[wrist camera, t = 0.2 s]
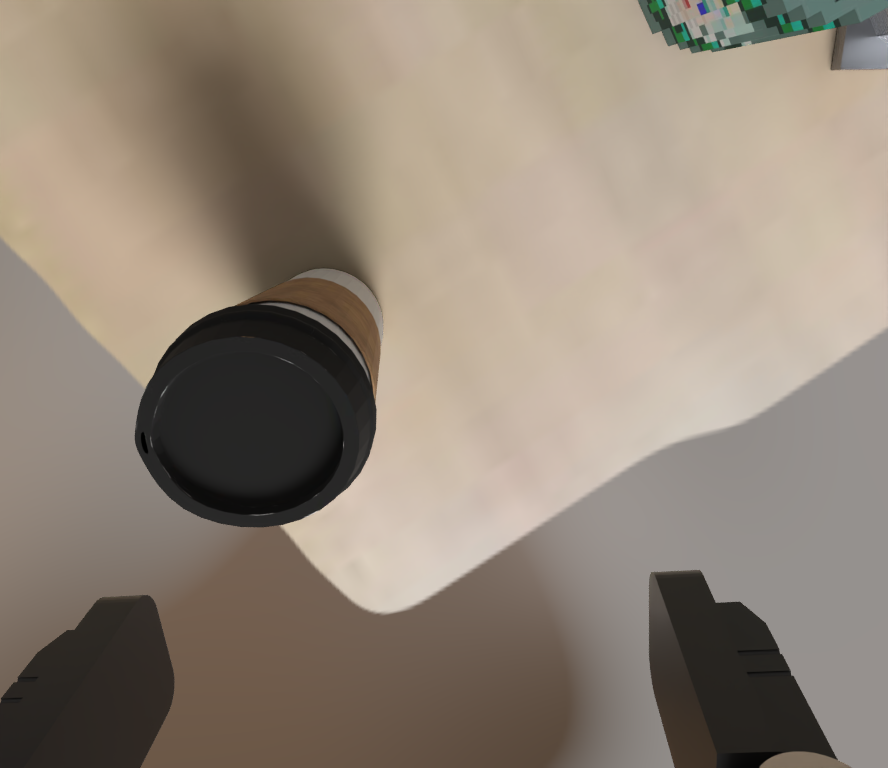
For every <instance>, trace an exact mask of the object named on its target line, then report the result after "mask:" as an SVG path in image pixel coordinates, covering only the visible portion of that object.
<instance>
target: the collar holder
mask: <svg viewBox="0 0 888 768" xmlns="http://www.w3.org/2000/svg"><path fill="white" fill-rule="evenodd" d="M877 69H888V8H886V9H884V10H882V11H880V12H878V13H877V14H875V15H873V16H871V17H869V18H868V19H866V20H864V21H862V22H860V23H856V24H851V25H846V26H841V27H837V33H836V40H835V47H834V54H833V60H832V67H831V70H877Z"/></svg>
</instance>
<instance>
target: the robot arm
mask: <svg viewBox="0 0 888 768" xmlns="http://www.w3.org/2000/svg"><path fill="white" fill-rule="evenodd" d="M649 661H650V670H651V678H652V685H653V690H654V694H655V698H656V702H657V706H658V709H659V713H660V717H661V720H662V724H663V727H664V731H665V734H666V738H667V742H668V745H669V748H670V752H671V756H672V759H673V763H674V767H675V768H851V767H850V766H848V765H846V764H844V763H842V762H840V761H838V759H837V758H836V756H835V754H834V752H833V751H832V749H831V747H830V745H829V743H828V741H827V739H826V737H825V735H824V733H823V731H822V730H821V728H820V726H819V724H818V722H817V720H816V718H815V716H814V714H813V713H812V710H811V708H810V707H809V705H808V703H807V701H806V699H805V697H804V695H803V693H802V691H801V690H800V688H799V686H798V684H797V682H796V680H795V678H794V676H791V671H790V669H789V667H788V665H787V663H786V661H785V659H784V657H783V655H782V654H780V652H779V648H778V646H777V644H776V642H775V640H774V638H773V636H772V634H771V632H770V631H769V629H768V627H767V625H766V623H765V622H764V621H762V620H761V619H760V618H759V617H758V616H756V615H755V614H754V613H753V612H752V611H750V610H749V609H748V608H747V607H746V606H744V605H743V604H742V603H741V602H727V603H715V600H714V598H713V596H712V594H711V592H710V589H709V587H708V585H707V583H706V581H705V578H704V576H703V574H702V572H701V571H700V570H691V571H670V572H651V574H650V579H649ZM173 694H174V673H173V668H172V664H171V660H170V656H169V652H168V648H167V645H166V641H165V637H164V633H163V629H162V626H161V622H160V618H159V614H158V611H157V607H156V604H155V602H154V600H153V599H152V598H151V597H150V596H148V595H140V596H120V597H102V598H100V599H99V600H97V601H96V603H95V604H94V605H93V607H92V608H91V609H90V610H89V612H88V613H87V614H86V615H85V617H84V618H83V619H82V621H81V622H80V623H79V625H78V626H77V627H76V629H75V630H67V631H66V632H64V633H63V634H62V635H60V636H59V637H58V638H56V639H55V640H54V641H52V642H51V643H50V644H48V645H47V646H46V647H44V648H43V649H42V650H41V651H39V652H38V653H37V654H36V655H35V657H34V658H33V659H32V660H31V662H30V663H29V664H28V665H27V667H26V668H25V669H24V670H23V672H22V673H21V674H20V675H19V677H18V682H15V683H13V684H12V685H11V687H10V688H9V689H8V690H7V692H6V693H5V694H4V695H3V697H2V698H1V703H0V768H140V767H141V765H142V763H143V761H144V759H145V757H146V755H147V753H148V751H149V749H150V748H151V746H152V744H153V742H154V740H155V738H156V736H157V734H158V732H159V730H160V728H161V726H162V724H163V722H164V720H165V718H166V716H167V714H168V712H169V709H170V707H171V704H172V699H173Z"/></svg>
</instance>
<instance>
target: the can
mask: <svg viewBox="0 0 888 768" xmlns="http://www.w3.org/2000/svg"><path fill="white" fill-rule="evenodd" d="M638 2H639V4H640V6H641V9H642V11H643V13H644V15H645V18H646V20H647V22H648V25H649V27H650V29H651V31H652V34H654V33H657V32H660V31H662V33H663V35H664V38H665V40H666V42H667V44H668V46H671V45H674V44H678V46H679V48H680V50H681V49H685V48H690V50H691V52H692V53H696V52H701V51H706V50H710V49H711V51H712V52H716V51H721V50H726V49H731V48H736V47H741V46H746V45H751V44H756V43H761V42H766V41H771V40H776V39H781V38H786V37H791V36H796V35H801V34H806V33H811V32H816V31H821V30H826V29H831V28H836V27H841V26H846V25H851V24H856V23H860V22H862V21H864V20H866V19H868V18H869V17H871V16H873V15H875V14H877V13H878V12H880V11H882V10H884V9H886V8H888V0H638Z"/></svg>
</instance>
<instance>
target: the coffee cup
mask: <svg viewBox="0 0 888 768" xmlns="http://www.w3.org/2000/svg"><path fill="white" fill-rule="evenodd" d="M382 338H383V317H382V311H381V309H380V306H379V304H378V301H377V300H376V298H375V296H374V295H373V293H372V292H371V291H370V289H369V288H368V287H367V286H366V285H365V284H364V283H363V282H361V281H360V280H358V279H357V278H356V277H354V276H352V275H350V274H348V273H346V272H343V271H339V270H335V269H326V268H320V269H313V270H309V271H306V272H304V273H301V274H299V275H297V276H295V277H293V278H292V279H290V280H288V281H287V282H284V283H281V284H279V285H277V286H275V287H273V288H271V289H269V290H267V291H265V292H262V293H260V294H258V295H256V296H254V297H252V298H250V299H248V300H246V301H244V302H242V303H240V304H238V305H235V306H232V307H228V308H225V309H222V310H219V311H216V312H213V313H211V314H208V315H207V316H205V317H203V318H202V319H200V320H198V321H197V322H195V323H193V324H192V325H191V326H189V327H188V328H187V329H186V330H185V331H184V332H183V333H182V334H181V335H180V336H179V337H178V338H177V339H176V340H175V342H174V343H173V344H171V345H170V346H169V348H168V349H167V351H166V352H165V354H164V355H163V357H162V358H161V360H160V361H159V363H158V365H157V368H156V371H155V373H154V375H153V377H152V379H151V380H150V381H149V383H148V385H147V387H146V389H145V392H144V394H143V396H142V399H141V402H140V406H139V410H138V415H137V421H136V429H135V443H136V447H137V450H138V452H139V454H140V456H141V458H142V460H143V462H144V464H145V465H146V467H147V469H148V470H149V472H150V474H151V475H152V477H153V478H154V480H155V481H156V482H157V484H158V485H159V487H161V489H162V490H163V491H164V492H165V493H166V494H167V495H168V496H169V498H171V499H172V500H173V501H175V502H176V503H177V504H178V505H180V506H181V507H182V508H183V509H185V510H187V511H190V512H191V513H193V514H195V515H197V516H199V517H201V518H204V519H208V520H211V521H214V522H217V523H221V524H227V525H233V526H240V527H269V526H277V525H283V524H287V523H290V522H294V521H297V520H300V519H303V518H305V517H307V516H309V515H311V514H313V513H315V512H317V511H319V510H321V509H322V508H323V507H325V506H326V505H327V504H328V503H330V502H331V501H332V500H334V499H335V498H336V497H337V496H338V495H339V494H340V493H342V492H343V491H344V490H346V489H347V488H348V487H349V486H350V485H351V483H352V482H353V481H354V480H355V479H356V477H357V476H358V475H359V474H360V472H361V471H362V469H363V467H364V465H365V463H366V461H367V459H368V457H369V454H370V450H371V447H372V443H373V439H374V435H375V431H376V405H375V400H376V391H377V381H378V372H379V362H380V348H381V343H382Z"/></svg>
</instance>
